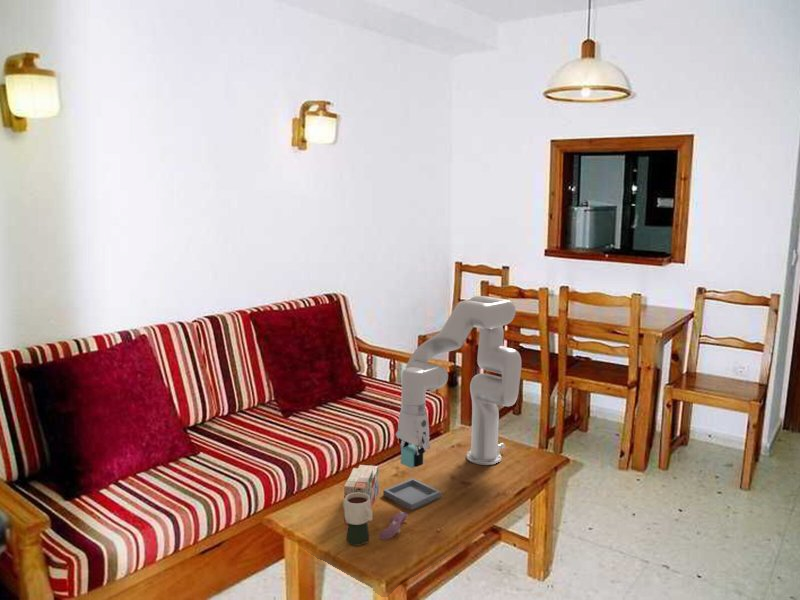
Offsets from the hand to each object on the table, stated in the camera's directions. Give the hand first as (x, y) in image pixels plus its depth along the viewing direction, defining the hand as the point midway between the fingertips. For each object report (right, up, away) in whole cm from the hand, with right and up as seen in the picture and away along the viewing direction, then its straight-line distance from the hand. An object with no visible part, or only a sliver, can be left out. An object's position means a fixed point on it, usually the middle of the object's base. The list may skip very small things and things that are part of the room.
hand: (412, 462), depth 206 cm
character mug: (-16, -16, -24) cm, 33 cm away
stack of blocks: (-15, -13, -5) cm, 21 cm away
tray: (0, -12, +2) cm, 12 cm away
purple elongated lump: (-6, -16, -19) cm, 26 cm away
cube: (0, 0, 0) cm, 1 cm away
